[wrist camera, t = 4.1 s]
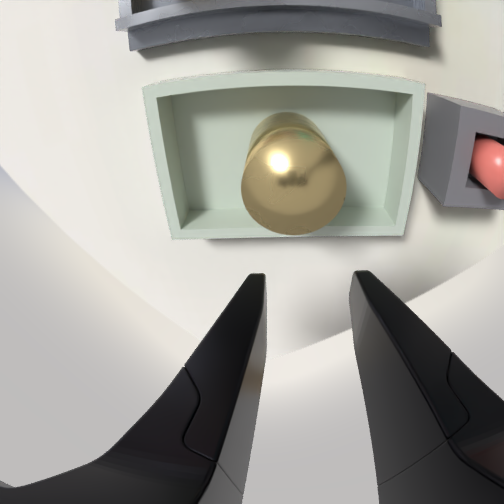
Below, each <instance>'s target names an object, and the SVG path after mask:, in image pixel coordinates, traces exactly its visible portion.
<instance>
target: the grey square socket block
mask: <svg viewBox="0 0 504 504" xmlns="http://www.w3.org/2000/svg"><path fill="white" fill-rule="evenodd" d="M477 135H486V136H488V137H490V138H492V139H493V140H495V141H497V142H498V143H500V144H502V145H503V146H504V112H501V111H499V110H497V109H495V108H491V107H488V106H484V105H481V104H477V103H473V102H469V101H465V100H461V99H457V98H452V97H448V96H443V95H438V94H433V93H427V107H426V118H425V128H424V136H423V144H422V152H421V159H420V165H419V172H418V179H419V180H420V181H421V182H422V183H423V184H424V185H425V186H426V187H427V189H428V190H429V191H430V192H431V193H432V194H433V195H434V196H435V197H436V198H437V200H438V201H439V202H440V203H441V204H442V205H443V206H449V207H468V208H484V209H499V210H504V199H499V198H497V197H496V196H495V195H494V194H493V193H492V192H491V191H489V190H488V189H487V188H486V187H485V186H484V185H483V184H482V183H480V182H479V181H478V180H477V179H476V178H475V177H473V176H472V175H471V174H470V173H469V168H470V163H471V158H472V152H473V147H474V141H475V136H477Z"/></svg>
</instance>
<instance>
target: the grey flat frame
mask: <svg viewBox="0 0 504 504" xmlns="http://www.w3.org/2000/svg"><path fill="white" fill-rule="evenodd" d="M119 13H120V18H119V19H116V20H115V25H116V31H127V32H128V39H129V48H130V51H139V50H143V49H147V48H151V47H156V46H161V45H165V44H171V43H176V42H182V41H188V40H194V39H201V38H208V37H216V36H225V35H236V34H250V33H271V32H309V33H330V34H343V35H354V36H363V37H371V38H378V39H385V40H391V41H397V42H402V43H407V44H412V45H417V46H422V47H430V44H429V27H442V24H441V15H438V14H436V0H119Z"/></svg>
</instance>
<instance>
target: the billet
mask: <svg viewBox="0 0 504 504" xmlns="http://www.w3.org/2000/svg"><path fill="white" fill-rule="evenodd" d="M346 190H347V184H346V177H345V174H344V171H343V169H342V166H341V165H340V163H339V161H338V159H337V158H336V156H335V154H334V153H333V151H332V149H331V148H330V146H329V144H328V143H327V141H326V139H325V138H324V136H323V134H322V133H321V131H320V130H319V128H318V127H317V125H316V124H315V123H314V122H313V121H311V120H310V119H309V118H307V117H305V116H303V115H301V114H298V113H294V112H280V113H276V114H273V115H270V116H268V117H267V118H265V119H264V120H262V121H261V122H260V123H259V124H258V125H257V127H256V128H255V130H254V131H253V134H252V136H251V140H250V144H249V148H248V153H247V158H246V162H245V167H244V171H243V176H242V181H241V195H242V200H243V203H244V206H245V208H246V210H247V211H248V213H249V214H250V216H251V217H252V218H253V219H254V220H255V221H256V222H257V223H258V224H260V225H261V226H263V227H264V228H266V229H268V230H270V231H272V232H275V233H279V234H284V235H303V234H308V233H311V232H314V231H316V230H319V229H320V228H322V227H324V226H325V225H327V224H328V223H329V222H330V221H331V220H333V219H334V218H335V216H336V215H337V214H338V212H339V211H340V209H341V208H342V205H343V203H344V200H345V197H346Z"/></svg>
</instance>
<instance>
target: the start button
mask: <svg viewBox="0 0 504 504" xmlns="http://www.w3.org/2000/svg"><path fill="white" fill-rule="evenodd" d="M469 173H470V174H471V175H472V176H473V177H475V178H476V179H477V180H478V181H479V182H480V183H482V184H483V185H484V186H485V187H486V188H487V189H488V190H489V191H491V192H492V193H493V194H494V195H495V196H496V197H497V198H499V199H504V146H503V145H502V144H500V143H498V142H497V141H495V140H493V139H492V138H490V137H488V136H486V135H477V136H475V141H474V147H473V152H472V158H471V163H470V168H469Z"/></svg>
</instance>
